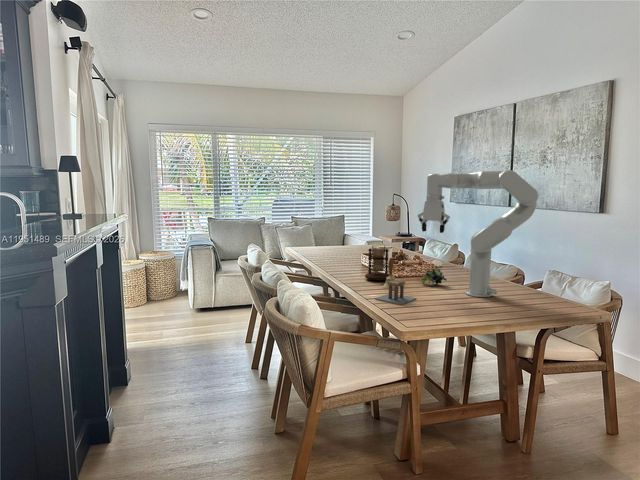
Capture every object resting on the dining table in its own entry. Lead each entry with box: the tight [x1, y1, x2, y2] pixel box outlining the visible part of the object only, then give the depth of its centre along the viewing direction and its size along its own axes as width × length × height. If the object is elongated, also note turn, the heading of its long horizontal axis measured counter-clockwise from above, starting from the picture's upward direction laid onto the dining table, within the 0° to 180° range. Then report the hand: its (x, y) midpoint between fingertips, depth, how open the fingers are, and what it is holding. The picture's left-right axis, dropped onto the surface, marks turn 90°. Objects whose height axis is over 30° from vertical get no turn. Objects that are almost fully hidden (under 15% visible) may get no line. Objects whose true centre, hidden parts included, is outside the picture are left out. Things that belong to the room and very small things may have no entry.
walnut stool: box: [388, 279, 406, 300], centre depth 197 cm, size 7×5×8 cm
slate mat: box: [374, 292, 417, 306], centre depth 197 cm, size 14×14×1 cm
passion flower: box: [420, 267, 448, 287], centre depth 227 cm, size 11×11×12 cm
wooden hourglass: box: [364, 245, 390, 282], centre depth 240 cm, size 15×15×20 cm
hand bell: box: [382, 257, 396, 290], centre depth 220 cm, size 8×8×16 cm
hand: (432, 232), depth 213 cm, fingers open, 9 cm apart
